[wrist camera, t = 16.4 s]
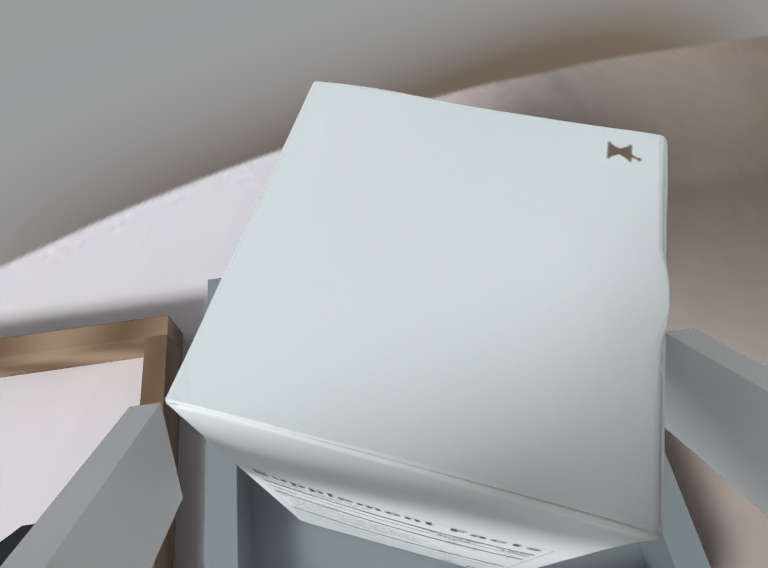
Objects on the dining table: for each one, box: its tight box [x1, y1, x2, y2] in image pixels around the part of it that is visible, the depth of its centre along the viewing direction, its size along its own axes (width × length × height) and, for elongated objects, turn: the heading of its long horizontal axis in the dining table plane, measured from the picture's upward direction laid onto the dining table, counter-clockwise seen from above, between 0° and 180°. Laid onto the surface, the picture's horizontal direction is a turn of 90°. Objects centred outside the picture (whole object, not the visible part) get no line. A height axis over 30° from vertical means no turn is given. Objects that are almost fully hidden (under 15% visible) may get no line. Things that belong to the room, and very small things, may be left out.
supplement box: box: [165, 81, 670, 568], centre depth 18 cm, size 9×9×15 cm
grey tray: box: [203, 278, 711, 568], centre depth 23 cm, size 17×17×4 cm
